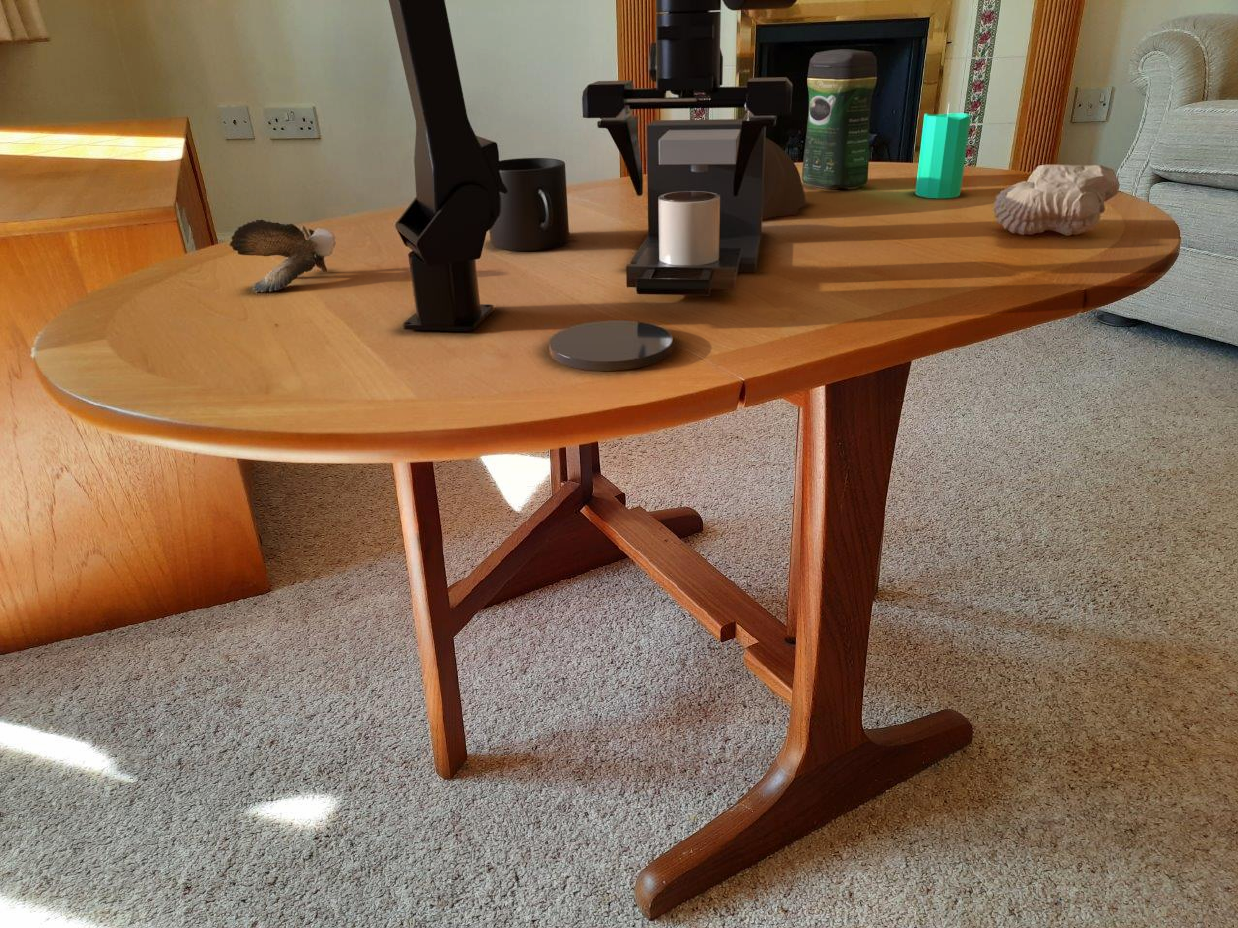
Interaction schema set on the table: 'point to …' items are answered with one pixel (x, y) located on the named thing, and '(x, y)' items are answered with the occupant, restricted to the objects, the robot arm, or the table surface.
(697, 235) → the white cup
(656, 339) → the coaster
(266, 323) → the table surface
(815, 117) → the coffee jar
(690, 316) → the table surface
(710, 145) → the coffee machine
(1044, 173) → the fossil replica
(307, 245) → the eagle figurine
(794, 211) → the decorative dome
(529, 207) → the mug
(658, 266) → the tray
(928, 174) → the candle
